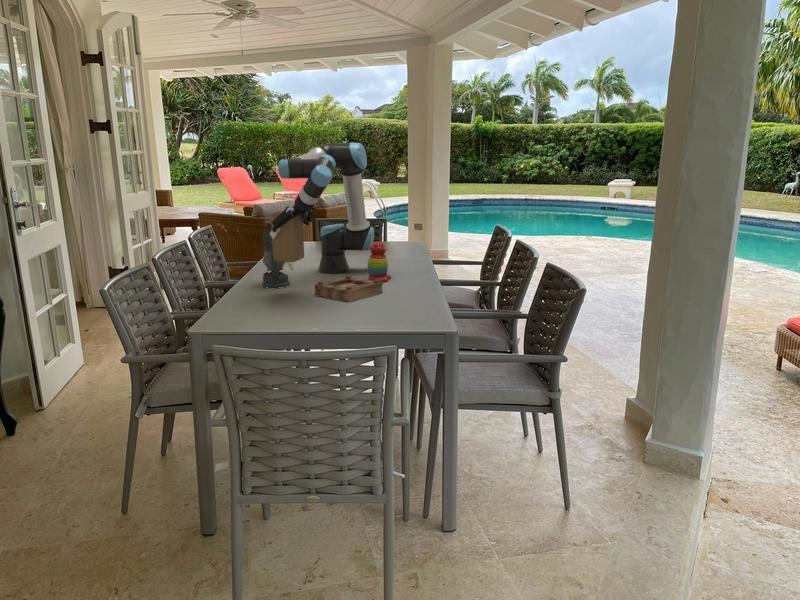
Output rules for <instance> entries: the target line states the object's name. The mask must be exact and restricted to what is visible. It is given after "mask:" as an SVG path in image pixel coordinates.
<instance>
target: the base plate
mask: <svg viewBox="0 0 800 600" xmlns="http://www.w3.org/2000/svg"><path fill="white" fill-rule="evenodd" d="M379 293H381V294H383V282H379V280H374V281H370V280H368V279H363V278H357V277H352V276H351V275H348V274H347V275H345V277H342V278H337V279H333V280H330V281H329V280H328V281H325V282H324V281H318V282H317V283H316V284H314V296H316V295H319V296H318V297H321V296H324V297H323V298H326V297H329V298H328V299H331V298H334V299H333V300H336V299H339V300H338V301H341V300H344V301H343V302H346V301H348V302H347V303H351V302H350V301H352V302H354V300H355V301H358V300H357V299H359V300H362V299H361V298H363V299H365V298H364V297H366V298H369V297H368V296H370V297H373V296H376V294H377V295H380V294H379ZM372 295H373V296H372Z"/></svg>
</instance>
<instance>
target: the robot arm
mask: <svg viewBox="0 0 800 600" xmlns="http://www.w3.org/2000/svg"><path fill="white" fill-rule="evenodd" d="M367 166H368V157H367V152H366V149H365V147H364V145H363V144H362V143H360V142H353V141H352V142H327V143H324V144H323V143H322V144H320V145H317V146H314V147H312V148H310V149H309V150H308V151H307V153H304V154H301V155H299V156H296V157H293V158H291V159H288V158H286V159H280V160H279V162H278V165H277V170H278V175H279V177H280V178H281V179H287V180H290V179H296V180H297V179H307V180H306V181H305V183H304V184H303V186H302V187H301V189H300V191H299V193H298V195H297V196H296V197H295V199H294V205H293V206H292V207H289V206H286V207H285V209H284V210H282V211H283V212H282V213H281V214H280V215H279V216H278V217H277V218H275V219H274V220H273V221H272V224H273V226H274V227H273V228H272V231H271V232H270V235H271V237H272V238H273V239H274V238H275V237H276V235H277V234H278V232H279V230H280V229H281V228H280V227H281V226H282V225H284V224H285V223H286V222H288V221H289V220H291V219H294V218H295V217H297V216H302V222H303V229H304V228H305V226H309V225H310V223H313V219H314V212H315V211H316V207H315V206H316V204H317V202H318V200H319V198H320V197H321V196H322V194H323V193H324V191H325V190H326V189H327V187H328V185H330V183H331V181H332V178H333V174H334V173H335V170H338V175H340V176H341V177H342V179H343V180H342V181H343V189H344V195H345V196H344V197H345V203H346V205H345V206H346V211H347V212H346V213H347V220H348V222H347V223H346V224H344V223H335V224H329V225H325V226H322V227H321V228H320V246H321V247H320V251H321V256H320V262H319V265H318V272H319V273H322V274H342V273H346V272H349V271H350V265H349V264H348V261H347V257H346V254H345V253H346V251H348V252H349V251H354V252H356V251H358V252H364V251H371V249H370V247H371V245H372V244H373V243H374V241H375V228H374V227H373V226H371V224H370V222H369V221H368V220H367V217H366V215H367V214H366V205H365V197H364V189H363V188H364V187H363V178H362V175H363V174H364V172H365V169H366V168H367ZM291 212H292V214H293V215H294V216H292V214H291Z"/></svg>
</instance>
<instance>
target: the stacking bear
mask: <svg viewBox="0 0 800 600" xmlns="http://www.w3.org/2000/svg"><path fill="white" fill-rule="evenodd" d="M370 252H371V254H370V256H369V258H368V261H367V271H368V275H369V276H368V279H367V280H370V281H374V280H379V282H382V283H388V282H389V280H391V279H392V276H391V275H390V274H388V270H389V269H388V267H389V265H388V261H387V260H388V259H387V256H386V254H385V253H386V252H387V247H386V246H385V245H384V244H383V243H382V242H380V241H376V242H373V244H372V245H371V247H370Z"/></svg>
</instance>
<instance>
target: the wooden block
mask: <svg viewBox="0 0 800 600" xmlns="http://www.w3.org/2000/svg"><path fill="white" fill-rule="evenodd" d="M283 211H284V210H280V211H274V212H271V213H270V219H271V223H270V225H271V229H272V228H273V227H274V226H273V224H272V221H273V220H274V219H275V218H277V217H278V216H279V215H280V214H281V213H282V212H283ZM291 214H292V212H291ZM292 216H294V215H293V214H292ZM302 220H303V218H302V216H297V217H295V218H294V219H291V220H289V221H288V222H286V223H285V224H284V225H282V226H281V227H280V228H281V229H280V230H279V232H278V234H277V235H276V237H275V238H274V239H273V238H272V244H273V258H274V261H279V262H286V263H287V262H288V263H289V262H290V263H295V262H297V261H300V260H303V259H304V258H305V244H304V243H305V242H304V228H303V222H302Z"/></svg>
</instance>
